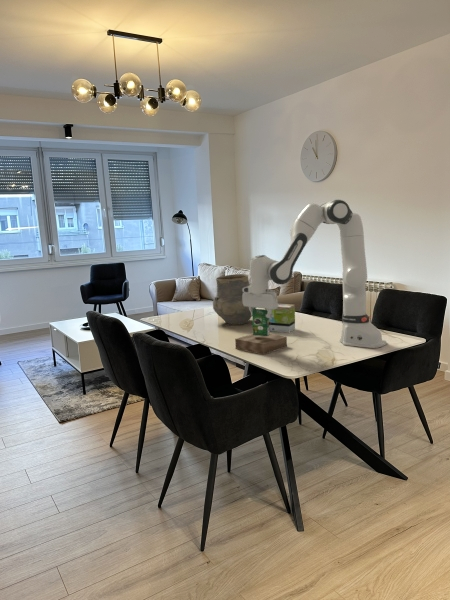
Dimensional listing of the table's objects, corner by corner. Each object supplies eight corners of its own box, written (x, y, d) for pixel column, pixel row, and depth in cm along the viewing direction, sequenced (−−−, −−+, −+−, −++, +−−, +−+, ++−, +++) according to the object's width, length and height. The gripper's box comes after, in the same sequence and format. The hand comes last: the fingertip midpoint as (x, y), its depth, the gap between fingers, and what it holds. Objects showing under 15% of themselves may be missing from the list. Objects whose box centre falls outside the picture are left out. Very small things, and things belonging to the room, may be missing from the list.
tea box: (264, 331, 261) (264, 305, 259) (271, 327, 270) (270, 302, 268) (289, 332, 254) (289, 306, 252) (295, 329, 263) (295, 303, 261)
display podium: (286, 346, 226) (286, 336, 225) (263, 354, 213) (263, 344, 213) (259, 341, 239) (258, 331, 238) (235, 348, 226) (235, 338, 225)
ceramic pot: (267, 322, 284) (266, 274, 280) (230, 329, 269) (228, 279, 264) (240, 316, 308) (239, 272, 303) (205, 322, 292) (202, 276, 287)
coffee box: (270, 335, 225) (269, 308, 223) (268, 336, 222) (267, 309, 220) (254, 334, 228) (253, 308, 226) (252, 335, 226) (251, 309, 224)
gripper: (280, 289, 216) (281, 317, 219) (248, 286, 231) (249, 313, 233) (272, 291, 212) (273, 320, 214) (239, 288, 226) (241, 315, 228)
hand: (260, 316), depth 224 cm, fingers closed on coffee box, 8 cm apart
